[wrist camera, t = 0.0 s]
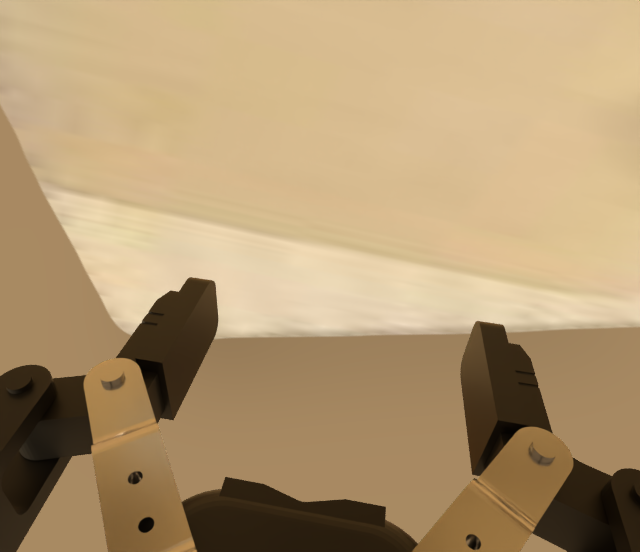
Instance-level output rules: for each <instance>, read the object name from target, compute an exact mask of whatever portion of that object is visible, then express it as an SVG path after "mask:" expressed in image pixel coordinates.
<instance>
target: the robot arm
mask: <svg viewBox="0 0 640 552" xmlns="http://www.w3.org/2000/svg"><path fill="white" fill-rule="evenodd" d="M217 326H218V309H217V297H216V286H215V282H214V281H212V280H205V279H199V278H192V277H190V278H188V279H187V281H186V282H185V284H184V285H183V287H182V288H181V290H180V291H179V292H176V291H169V292H168V293H166V294H165V295H164V296H162V297H161V298H159V299H158V300H157V301H156V302H155V303H154V305H153V306H152V308H151V309H150V311H149V313H148V314H147V315H146V316H145V318H144V319H143V320H142V324H141V323H140V325H139V326H138V327H137V329H136V330H135V332H134V333H133V334H132V336H131V337H130V339H129V340H128V342H127V343H126V345H125V346H124V347H123V349H122V350H121V351H120V353H119V354H118V356H117V357H116V358H114V359H109V360H106V361H103V362H101V363H99V364H98V365H96V366H95V367H93V368H92V369H91V370H90V371H89V372H88V374H87V375H83V376H75V377H64V378H54V379H52V376H51V374H50V372H49V371H48V370H47V369H46V368H45V367H42V366H38V365H26V366H21V367H18V368H15V369H12V370H10V371H8V372H6V373H4V374H3V375H2V376H0V552H16V551H17V549H18V548H19V546H20V544H21V542H22V541H23V539H24V537H25V536H26V534H27V532H28V531H29V529H30V527H31V526H32V524H33V522H34V520H35V519H36V517H37V515H38V513H39V512H40V510H41V508H42V507H43V505H44V503H45V501H46V500H47V498H48V496H49V495H50V493H51V491H52V490H53V488H54V486H55V485H56V483H57V481H58V479H59V478H60V476H61V474H62V473H63V471H64V469H65V467H66V466H67V464H68V462H69V461H70V459H71V457H72V456H77V455H85V454H92V457H93V463H94V469H95V476H96V482H97V488H98V494H99V500H100V506H101V512H102V518H103V524H104V530H105V536H106V542H107V549H108V552H520V551H521V549H522V548H523V546H524V545H525V543H526V542H527V540H528V538H529V537H530V535H531V534H532V533H533V534H535V535H537V536H539V537H541V538H543V539H545V540H547V541H549V542H551V543H553V544H554V545H557V546H558V547H560V548H562V549H564V550H566V551H567V552H640V471H639V470H636V469H621V470H619V471H617V472H616V473H614V475H613V476H610V475H608V474H606V473H603V472H601V471H599V470H597V469H594V468H592V467H589V466H587V465H585V464H583V463H581V462H579V461H578V460H576V459H575V458H573V457H572V454H571V452H570V450H569V449H568V447H567V446H566V445H565V443H564V442H563V441H562V440H561V439H560V438H558V437H557V436H556V435H554V434H553V433H552V430H551V427H550V424H549V420H548V416H547V413H546V409H545V406H544V403H543V399H542V396H541V392H540V389H539V388H538V382H537V379H536V376H535V372H534V369H533V366H532V362H531V359H530V358H529V356H528V355H527V354H526V352H525V351H524V350H523V349H522V347H521V346H520V345H517V344H511V343H508V339H507V335H506V331H505V328H504V326H503V325H501V324H494V323H487V322H480V321H477V322H476V323H475V324H474V327H473V329H472V332H471V335H470V338H469V341H468V344H467V346H466V349H465V352H464V355H463V358H462V363H461V385H462V393H463V400H464V410H465V418H466V426H467V435H468V443H469V451H470V459H471V468H472V474H473V475H477V476H480V477H479V478H478V479H475V478H474V479H473V480H472V481H471V482H470V483H469V484H468V485H467V486H466V487H465V489H464V490H463V491H462V492H461V493H460V495H459V496H458V497H457V498H456V499H455V501H454V502H453V503H452V504H451V505H450V507H449V508H448V509H447V510H446V511H445V513H444V514H443V515H442V516H441V517H440V518H439V520H438V521H437V522H436V523H435V524H434V526H433V527H432V528H431V529H430V530H429V532H428V533H427V534H426V535H425V536H424V538H423V539H422V540H421V541H420V542H419V544H418V543H417V542H415V540H414V539H413V538H411V536H409V535H408V534H407V533H405V532H404V531H403V530H402V529H400V528H399V527H397V526H396V525H394V524H392V523H391V522H388V521H387V520H385V512H386V507H383V506H378V505H373V504H367V503H362V502H357V501H351V500H346V499H344V500H330V501H317V502H301V501H298V500H296V499H294V498H292V497H290V496H287V495H286V494H283V493H281V492H279V491H277V490H275V489H273V488H271V487H269V486H267V485H264V484H260V483H255V482H249V481H244V480H239V479H233V478H228V477H225V480H224V483H223V486H222V489H218V490H212V491H207V492H203V493H201V494H197V495H195V496H192V497H190V498H188V499H186V500H184V501H183V502H181V498H180V495H179V492H178V488H177V485H176V482H175V479H174V475H173V472H172V469H171V465H170V462H169V459H168V455H167V452H166V449H165V446H164V442H163V439H162V436H161V432H160V429H159V426H158V422H159V420H160V418H164V419H169V420H174V418H175V416H176V414H177V411H178V410H179V407H180V406H181V404H182V401H183V400H184V398H185V396H186V394H187V392H188V389H189V387H190V386H191V384H192V381H193V379H194V377H195V375H196V373H197V371H198V369H199V367H200V365H201V363H202V361H203V359H204V357H205V355H206V353H207V351H208V349H209V347H210V345H211V343H212V341H213V339H214V337H215V334H216V331H217Z"/></svg>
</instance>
